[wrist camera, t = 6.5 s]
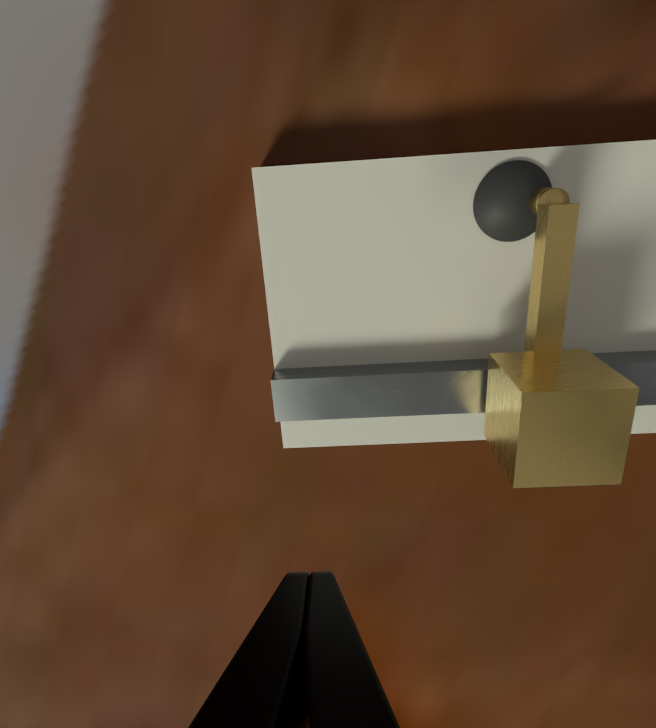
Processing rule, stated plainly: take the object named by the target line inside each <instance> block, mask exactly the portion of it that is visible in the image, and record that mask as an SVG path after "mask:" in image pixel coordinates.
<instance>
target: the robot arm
mask: <svg viewBox="0 0 656 728" xmlns="http://www.w3.org/2000/svg"><path fill="white" fill-rule="evenodd" d="M188 728H400V727H399V725H398V722H397V720H396V718H395V715H394V713H393V711H392V708H391V706H390V704H389V702H388V699H387V697H386V695H385V692H384V690H383V688H382V685H381V683H380V681H379V678H378V676H377V674H376V671H375V669H374V667H373V665H372V662H371V660H370V658H369V655H368V653H367V651H366V648H365V646H364V644H363V641H362V639H361V637H360V635H359V632H358V630H357V628H356V625H355V623H354V621H353V618H352V616H351V614H350V611H349V609H348V607H347V605H346V602H345V600H344V598H343V595H342V593H341V591H340V588H339V586H338V584H337V581H336V579H335V577H334V575H333V573H332V572H330V571H322V572H312V573H311V574H310V575H309V574H308V573H307V572H292V573H288V574H286V575H285V577H284V578H283V580H282V582H281V583H280V585H279V586H278V588H277V589H276V591H275V592H274V594H273V596H272V597H271V599H270V600H269V602H268V603H267V605H266V607H265V608H264V610H263V611H262V613H261V614H260V616H259V618H258V619H257V621H256V622H255V624H254V625H253V627H252V629H251V630H250V632H249V633H248V635H247V636H246V638H245V640H244V641H243V643H242V644H241V646H240V647H239V649H238V651H237V652H236V654H235V655H234V657H233V658H232V660H231V661H230V663H229V665H228V666H227V668H226V669H225V671H224V672H223V674H222V676H221V677H220V679H219V680H218V682H217V683H216V685H215V687H214V688H213V690H212V691H211V693H210V694H209V696H208V698H207V699H206V701H205V702H204V704H203V705H202V707H201V709H200V710H199V712H198V713H197V715H196V716H195V718H194V719H193V721H192V723H191V724H190V726H189V727H188Z"/></svg>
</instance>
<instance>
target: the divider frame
mask: <svg viewBox="0 0 656 728" xmlns="http://www.w3.org/2000/svg"><path fill="white" fill-rule="evenodd" d="M592 354H593V355H594V356H596V357H597V358H599V359H600V360H601V361H603V362H604V363H606V364H607V365H608V366H610V367H611V368H613V369H614V370H615V371H617V372H618V373H620V374H621V375H622V376H624V377H625V378H627V379H628V380H629V381H631V382H632V383H633V384H635V385H636V386H638V387H639V394H638V399H637V404H636V406H643V405H656V350H649V351H628V352H608V353H592ZM488 364H489V358H487V359H467V360H446V361H426V362H406V363H386V364H365V365H345V366H325V367H305V368H285V369H274V372H273V375H272V378H271V388H272V396H273V405H274V413H275V421H276V422H281V421H304V420H326V419H349V418H372V417H394V416H417V415H439V414H462V413H485V410H486V395H487V380H488Z"/></svg>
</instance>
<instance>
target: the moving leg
mask: <svg viewBox="0 0 656 728" xmlns="http://www.w3.org/2000/svg"><path fill="white" fill-rule="evenodd" d="M579 205H580V204H579V203H571V202H570V198H569V195H568V193H567V192H566V191H565V190H563V189H561V188H548V187H541V188H538V189H536V190H534V191H533V192H532V193H531V195H530V196H529V199H528V208H529V210H530V211H531V212H532V213H533V214H535V215H537V220H536V230H535V241H534V251H533V262H532V273H531V283H530V294H529V304H528V315H527V325H526V336H525V347H524V352H505V353H489V364H488V380H487V395H486V410H485V425H484V436H485V438H486V440H487V441H488V443H489V445H490V447H491V449H492V450H493V452H494V454H495V456H496V458H497V460H498V461H499V463H500V465H501V467H502V469H503V471H504V472H505V474H506V476H507V478H508V480H509V482H510V483H511V485H512V487H513V488H529V487H556V486H584V485H611V484H621V480H622V475H623V470H624V465H625V460H626V455H627V450H628V445H629V439H630V434H631V429H632V424H633V419H634V414H635V409H636V404H637V399H638V394H639V387H638V386H636V385H635V384H633V383H632V382H631V381H629V380H628V379H627V378H625V377H624V376H622V375H621V374H620V373H618V372H617V371H615V370H614V369H613V368H611V367H610V366H608V365H607V364H606V363H604V362H603V361H601V360H600V359H599V358H597V357H596V356H594V355H593V354H592V353H590V352H589V351H587V350H586V349H565V350H561V349H562V341H563V333H564V325H565V317H566V309H567V301H568V293H569V285H570V277H571V269H572V261H573V253H574V245H575V237H576V229H577V221H578V213H579Z"/></svg>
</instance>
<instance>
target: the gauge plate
mask: <svg viewBox="0 0 656 728" xmlns="http://www.w3.org/2000/svg"><path fill="white" fill-rule="evenodd" d="M252 176H253V185H254V194H255V203H256V211H257V220H258V229H259V238H260V246H261V255H262V264H263V273H264V282H265V290H266V299H267V308H268V317H269V325H270V334H271V343H272V352H273V361H274V369H285V368H305V367H325V366H345V365H365V364H386V363H406V362H426V361H446V360H467V359H487V358H489V353H505V352H524V347H525V336H526V325H527V315H528V304H529V294H530V283H531V273H532V262H533V251H534V241H535V230H536V220H537V215H535V214H533V213H532V212H531V211H530V210H529V208H528V199H529V196H530V195H531V193H532V192H533V191H534V190H536V189H538V188H541V187H548V188H561V189H563V190H565V191H566V192H567V193H568V195H569V198H570V202H571V203H579V204H580V205H579V213H578V221H577V229H576V237H575V245H574V253H573V261H572V269H571V277H570V285H569V293H568V301H567V309H566V317H565V325H564V333H563V341H562V349H561V350H565V349H586V350H587V351H589V352H590V353H608V352H628V351H649V350H656V140H642V141H628V142H614V143H599V144H585V145H571V146H556V147H542V148H528V149H513V150H499V151H485V152H470V153H456V154H442V155H427V156H413V157H399V158H384V159H370V160H356V161H341V162H327V163H313V164H299V165H284V166H270V167H256V168H252ZM484 425H485V413H462V414H439V415H417V416H394V417H372V418H349V419H326V420H304V421H281V431H282V440H283V448H299V447H323V446H347V445H371V444H395V443H419V442H443V441H468V440H486V438H485V436H484ZM636 433H656V405H643V406H636V409H635V414H634V419H633V424H632V429H631V434H636Z"/></svg>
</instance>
